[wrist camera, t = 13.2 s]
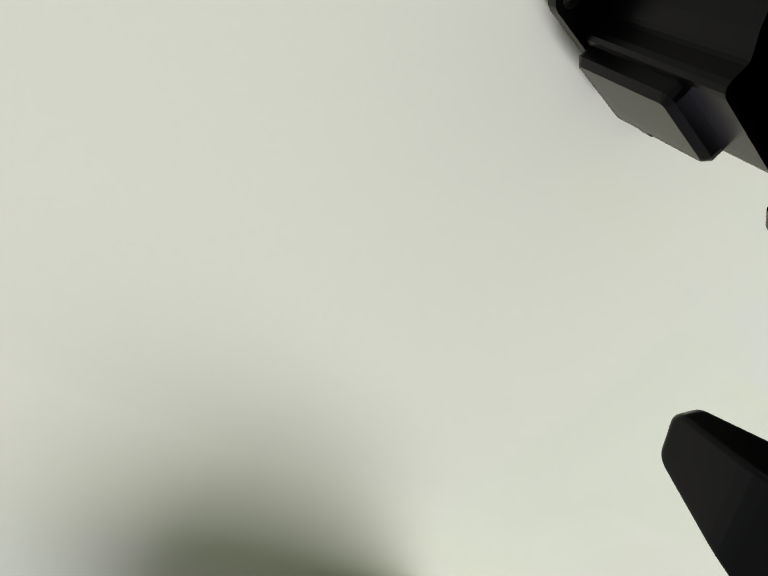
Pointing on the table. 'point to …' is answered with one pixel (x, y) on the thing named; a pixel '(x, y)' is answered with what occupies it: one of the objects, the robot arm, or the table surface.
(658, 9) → the robot arm
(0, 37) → the table surface
